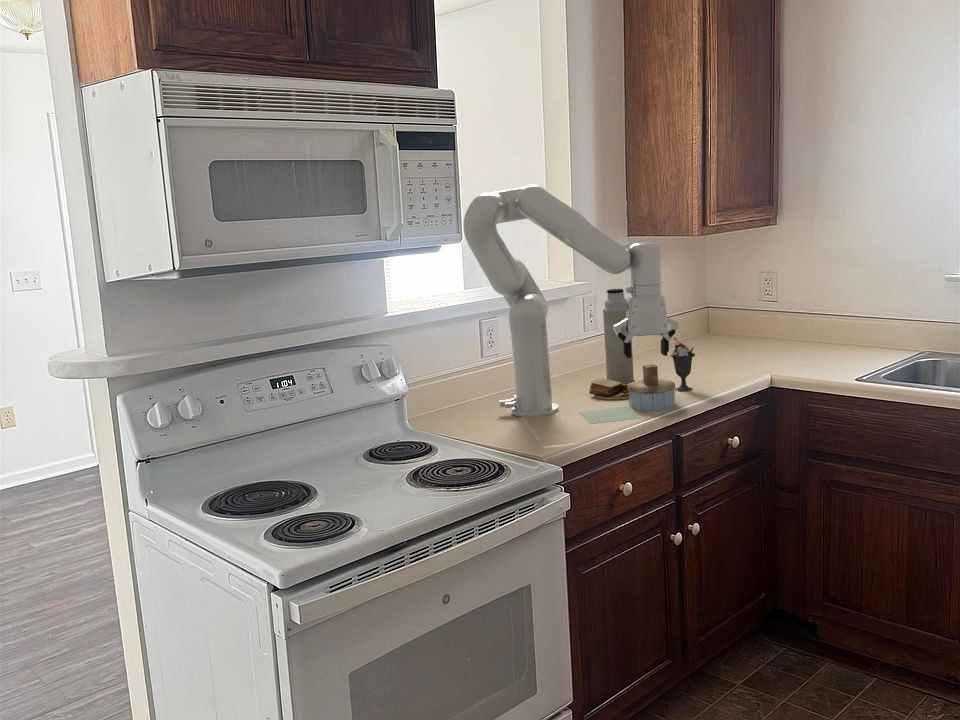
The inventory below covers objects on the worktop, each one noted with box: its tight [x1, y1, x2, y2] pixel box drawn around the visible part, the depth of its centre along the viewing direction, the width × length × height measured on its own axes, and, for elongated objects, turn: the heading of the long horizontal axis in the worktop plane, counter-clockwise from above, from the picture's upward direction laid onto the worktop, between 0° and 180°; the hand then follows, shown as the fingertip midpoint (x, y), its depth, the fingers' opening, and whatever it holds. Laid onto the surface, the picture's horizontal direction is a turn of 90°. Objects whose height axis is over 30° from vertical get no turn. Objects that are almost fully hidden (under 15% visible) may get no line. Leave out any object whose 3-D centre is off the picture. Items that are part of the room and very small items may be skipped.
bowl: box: [628, 389, 676, 412], centre depth 233 cm, size 12×12×5 cm
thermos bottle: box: [602, 288, 635, 384], centre depth 264 cm, size 8×8×28 cm
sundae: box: [670, 337, 696, 392], centre depth 248 cm, size 7×7×15 cm
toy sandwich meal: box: [588, 377, 629, 401], centre depth 248 cm, size 12×14×5 cm
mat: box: [578, 406, 642, 425], centre depth 227 cm, size 13×13×1 cm
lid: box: [627, 363, 676, 394], centre depth 232 cm, size 12×12×6 cm
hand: (646, 356), depth 231 cm, fingers open, 9 cm apart
